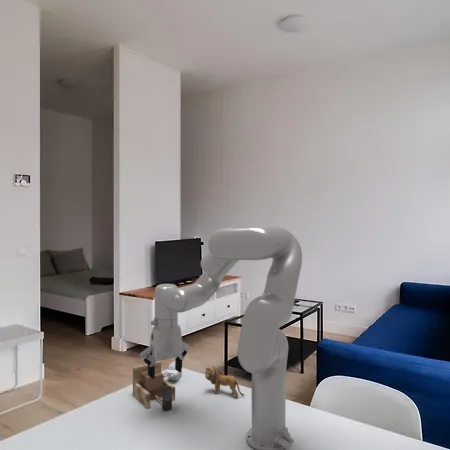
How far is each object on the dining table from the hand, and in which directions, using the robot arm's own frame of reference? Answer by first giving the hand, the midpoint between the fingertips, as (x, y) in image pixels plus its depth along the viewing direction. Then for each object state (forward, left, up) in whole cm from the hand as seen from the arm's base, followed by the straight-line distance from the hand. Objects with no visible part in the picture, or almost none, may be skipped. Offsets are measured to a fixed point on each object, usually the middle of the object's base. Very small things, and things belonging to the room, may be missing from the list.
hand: (165, 374), depth 131 cm
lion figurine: (-2, -22, -12) cm, 25 cm away
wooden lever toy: (+6, 0, -11) cm, 13 cm away
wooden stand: (+9, 0, -11) cm, 15 cm away
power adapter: (+18, -12, -12) cm, 25 cm away
